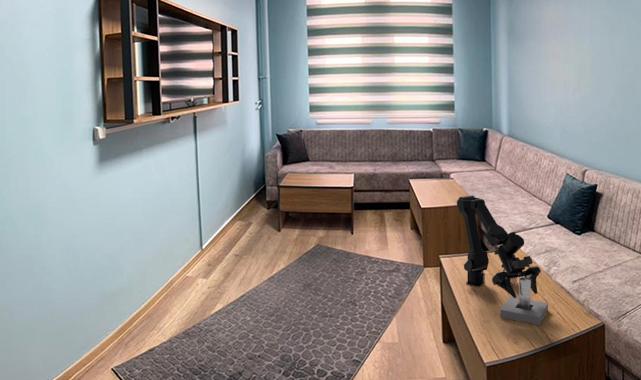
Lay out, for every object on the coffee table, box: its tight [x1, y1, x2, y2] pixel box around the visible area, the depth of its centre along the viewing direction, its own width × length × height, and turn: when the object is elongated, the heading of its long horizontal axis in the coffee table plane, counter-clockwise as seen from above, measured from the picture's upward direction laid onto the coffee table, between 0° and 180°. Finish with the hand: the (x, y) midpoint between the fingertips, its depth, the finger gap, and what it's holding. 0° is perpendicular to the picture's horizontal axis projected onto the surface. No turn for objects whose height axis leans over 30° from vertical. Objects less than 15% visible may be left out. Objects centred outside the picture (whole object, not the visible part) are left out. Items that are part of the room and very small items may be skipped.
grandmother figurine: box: [502, 268, 519, 286], centre depth 224 cm, size 8×4×13 cm, turn 71°
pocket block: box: [499, 295, 549, 326], centre depth 197 cm, size 14×14×3 cm
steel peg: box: [518, 276, 532, 311], centre depth 196 cm, size 4×4×14 cm
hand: (526, 295), depth 195 cm, fingers open, 9 cm apart
